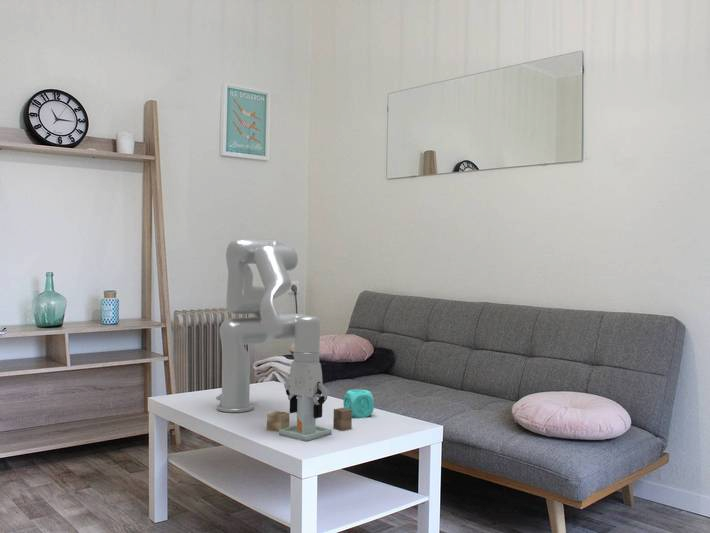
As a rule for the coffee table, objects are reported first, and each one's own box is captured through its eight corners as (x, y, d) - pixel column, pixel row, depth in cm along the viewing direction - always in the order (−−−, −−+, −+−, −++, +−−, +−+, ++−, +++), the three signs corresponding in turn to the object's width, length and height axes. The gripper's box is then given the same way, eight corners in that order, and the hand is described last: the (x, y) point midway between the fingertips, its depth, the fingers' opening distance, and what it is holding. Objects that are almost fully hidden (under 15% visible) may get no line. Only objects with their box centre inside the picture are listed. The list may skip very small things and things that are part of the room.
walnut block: (333, 428, 208) (333, 409, 208) (343, 426, 211) (343, 407, 211) (341, 431, 205) (341, 411, 205) (351, 429, 208) (351, 409, 208)
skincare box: (296, 430, 202) (297, 390, 202) (309, 429, 203) (310, 390, 203) (301, 435, 196) (302, 394, 196) (315, 434, 198) (316, 393, 198)
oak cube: (266, 430, 204) (266, 414, 204) (275, 426, 209) (275, 410, 209) (280, 432, 202) (281, 415, 202) (289, 428, 207) (289, 412, 207)
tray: (279, 434, 199) (279, 429, 199) (304, 428, 208) (304, 423, 208) (306, 441, 192) (306, 436, 192) (331, 434, 201) (331, 429, 201)
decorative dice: (364, 412, 232) (364, 388, 232) (374, 417, 225) (374, 393, 225) (343, 413, 229) (343, 390, 229) (351, 418, 222) (352, 394, 222)
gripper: (277, 355, 202) (276, 412, 202) (320, 361, 191) (318, 421, 191) (294, 353, 208) (293, 408, 208) (337, 359, 197) (336, 417, 197)
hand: (305, 415), depth 200 cm, fingers open, 9 cm apart
